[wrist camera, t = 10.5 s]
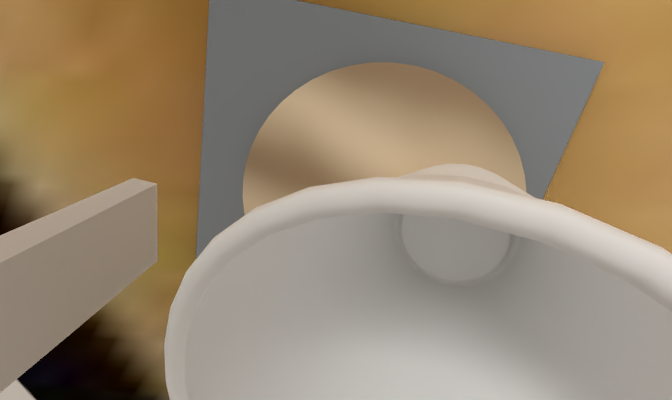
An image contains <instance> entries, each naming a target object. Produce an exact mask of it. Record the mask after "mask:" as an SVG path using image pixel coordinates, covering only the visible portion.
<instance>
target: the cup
mask: <svg viewBox="0 0 672 400" xmlns="http://www.w3.org/2000/svg"><path fill="white" fill-rule="evenodd" d="M164 356H165V377H166V385H167V389H168V394H169V398H170V400H672V254H671V253H670V252H668V251H667V250H665V249H663V248H662V247H660V246H657V245H655V244H653V243H650V242H648V241H646V240H643V239H641V238H639V237H636V236H634V235H632V234H629V233H627V232H625V231H622V230H620V229H618V228H615V227H613V226H611V225H608V224H606V223H604V222H601V221H599V220H597V219H594V218H592V217H590V216H587V215H585V214H583V213H580V212H578V211H576V210H573V209H571V208H569V207H566V206H564V205H562V204H559V203H555V202H550V201H546V200H542V199H538V198H535V197H533V196H531V195H530V194H528V193H526V192H525V191H523V190H521V189H520V188H518V187H517V186H515V185H513V184H512V183H510V182H508V181H507V180H505V179H504V178H502V177H500V176H499V175H497V174H495V173H493V172H490V171H488V170H486V169H483V168H481V167H476V166H472V165H467V164H443V165H436V166H432V167H428V168H425V169H422V170H419V171H416V172H413V173H409V174H406V175H403V176H400V177H373V178H366V179H359V180H352V181H345V182H339V183H332V184H325V185H318V186H312V187H308V188H305V189H302V190H300V191H297V192H295V193H292V194H290V195H287V196H284V197H282V198H279V199H277V200H274V201H271V202H269V203H266V204H264V205H261V206H259V207H256V208H254V209H253V210H252V211H250V212H249V213H247V214H246V215H245V216H243V217H242V218H240V219H239V220H238V221H236V222H235V223H233V224H232V225H231V226H229V227H228V228H226V229H225V230H223V231H222V232H221V233H219V234H218V235H216V236H215V237H214V238H213V239H212V240H211V242H210V243H209V244H208V245H207V246H206V248H205V249H204V250H203V251H202V253H201V254H200V255H199V256H198V258H197V259H196V260H195V261H194V262H193V264H192V265H191V266H190V267H189V269H188V270H187V271H186V273H185V275H184V278H183V280H182V282H181V285H180V287H179V289H178V291H177V294H176V296H175V298H174V300H173V303H172V305H171V307H170V313H169V318H168V324H167V330H166V336H165V342H164Z"/></svg>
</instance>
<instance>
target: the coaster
mask: <svg viewBox="0 0 672 400" xmlns="http://www.w3.org/2000/svg"><path fill="white" fill-rule="evenodd" d="M443 164H467V165H472V166H476V167H481V168H483V169H486V170H488V171H490V172H493V173H495V174H497V175H499V176H500V177H502V178H504V179H505V180H507V181H508V182H510V183H512V184H513V185H515V186H517V187H518V188H520V189H521V190H523V191H525V192H526V182H525V174H524V170H523V166H522V162H521V158H520V155H519V153H518V150H517V148H516V146H515V143H514V141H513V139H512V137H511V135H510V134H509V132H508V130H507V129H506V127H505V126H504V124H503V122H502V121H501V120H500V118H499V117H498V116H497V115H496V114H495V113H494V111H493V110H492V109H491V108H490V107H489V106H488V105H487V104H486V103H485V102H484V101H483V100H482V99H480V98H479V97H478V96H477V95H476V94H475V93H473V92H472V91H471V90H469V89H468V88H466V87H464V86H463V85H461V84H460V83H458V82H457V81H455V80H453V79H451V78H449V77H446V76H444V75H442V74H440V73H437V72H435V71H432V70H429V69H425V68H422V67H418V66H415V65H408V64H401V63H393V62H371V63H364V64H357V65H351V66H347V67H344V68H340V69H337V70H333V71H330V72H328V73H326V74H323V75H321V76H319V77H317V78H315V79H312V80H311V81H309V82H308V83H306V84H304V85H303V86H301V87H300V88H298V89H296V90H295V91H294V92H293V93H292V94H290V95H289V96H288V97H287V98H286V99H284V100H283V101H282V102H281V103H280V104H279V105H278V106H277V107H276V109H275V110H274V111H273V112H272V113H271V114H270V115H269V117H268V118H267V120H266V121H265V123H264V124H263V126H262V127H261V129H260V130H259V132H258V134H257V136H256V138H255V140H254V142H253V144H252V146H251V149H250V152H249V155H248V159H247V162H246V166H245V172H244V178H243V206H244V214H245V215H246V214H247V213H249V212H250V211H252V210H253V209H254V208H256V207H259V206H261V205H264V204H266V203H269V202H271V201H274V200H277V199H279V198H282V197H284V196H287V195H290V194H292V193H295V192H297V191H300V190H302V189H305V188H308V187H312V186H318V185H325V184H332V183H339V182H345V181H352V180H359V179H366V178H373V177H400V176H403V175H406V174H409V173H413V172H416V171H419V170H422V169H425V168H428V167H432V166H436V165H443Z"/></svg>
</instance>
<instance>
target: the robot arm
mask: <svg viewBox="0 0 672 400" xmlns="http://www.w3.org/2000/svg"><path fill="white" fill-rule="evenodd" d="M157 261H158V228H157V184H156V183H152V182H148V181H144V180H140V179H136V178H132V179H129V180H127V181H125V182H123V183H120V184H118V185H116V186H113V187H111V188H109V189H106V190H104V191H102V192H100V193H97V194H95V195H93V196H90V197H88V198H86V199H83V200H81V201H79V202H77V203H74V204H72V205H70V206H67V207H65V208H63V209H60V210H58V211H56V212H54V213H51V214H49V215H47V216H44V217H42V218H40V219H37V220H35V221H33V222H30V223H28V224H26V225H24V226H21V227H19V228H17V229H14V230H12V231H10V232H7V233H5V234H3V235H1V236H0V392H2V391H3V390H4V389H5V388H6V387H7V386H9V385H10V384H11V383H12V382H14V381H15V380H16V379H17V378H18V377H20V376H21V375H22V374H23V373H24V372H26V371H27V370H28V369H29V368H30V367H32V366H33V365H34V364H35V363H36V362H38V361H39V360H40V359H41V358H42V357H43V356H45V355H46V354H47V353H48V352H49V351H51V350H52V349H53V348H54V347H55V346H57V345H58V344H59V343H60V342H61V341H63V340H64V339H65V338H66V337H67V336H69V335H70V334H71V333H72V332H73V331H75V330H76V329H77V328H78V327H79V326H81V325H82V324H83V323H84V322H85V321H87V320H88V319H89V318H90V317H91V316H93V315H94V314H95V313H96V312H97V311H98V310H100V309H101V308H102V307H103V306H104V305H106V304H107V303H108V302H109V301H110V300H112V299H113V298H114V297H115V296H116V295H118V294H119V293H120V292H121V291H122V290H124V289H125V288H126V287H127V286H128V285H130V284H131V283H132V282H133V281H134V280H136V279H137V278H138V277H139V276H140V275H142V274H143V273H144V272H145V271H146V270H148V269H149V268H150V267H151V266H152V265H153V264H155V263H156V262H157Z"/></svg>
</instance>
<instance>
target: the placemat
mask: <svg viewBox="0 0 672 400" xmlns="http://www.w3.org/2000/svg"><path fill="white" fill-rule="evenodd" d="M371 62H393V63H401V64H408V65H415V66H418V67H422V68H425V69H429V70H432V71H435V72H437V73H440V74H442V75H444V76H446V77H449V78H451V79H453V80H455V81H457V82H458V83H460V84H461V85H463V86H464V87H466V88H468V89H469V90H471V91H472V92H473V93H475V94H476V95H477V96H478V97H479V98H480V99H482V100H483V101H484V102H485V103H486V104H487V105H488V106H489V107H490V108H491V109H492V110H493V111H494V113H495V114H496V115H497V116H498V117H499V118H500V120H501V121H502V122H503V124H504V126H505V127H506V129H507V130H508V132H509V134H510V135H511V137H512V139H513V141H514V143H515V146H516V148H517V150H518V153H519V155H520V158H521V162H522V166H523V170H524V174H525V182H526V193H528V194H530V195H531V196H533V197H535V198H538V199H543V197H544V194H545V192H546V190H547V188H548V186H549V183H550V181H551V179H552V177H553V175H554V172H555V170H556V168H557V166H558V163H559V161H560V159H561V157H562V155H563V152H564V150H565V148H566V146H567V144H568V141H569V139H570V137H571V135H572V133H573V130H574V128H575V126H576V124H577V122H578V119H579V117H580V115H581V113H582V111H583V108H584V106H585V104H586V102H587V100H588V97H589V95H590V93H591V91H592V89H593V86H594V84H595V82H596V80H597V78H598V75H599V73H600V71H601V69H602V67H603V64H604V62H601V61H596V60H591V59H586V58H581V57H576V56H571V55H566V54H561V53H556V52H551V51H546V50H541V49H536V48H531V47H526V46H521V45H516V44H511V43H506V42H501V41H496V40H491V39H486V38H481V37H476V36H471V35H466V34H461V33H456V32H451V31H446V30H441V29H436V28H431V27H426V26H421V25H416V24H411V23H406V22H402V21H397V20H392V19H387V18H382V17H377V16H372V15H367V14H362V13H357V12H352V11H347V10H342V9H337V8H332V7H327V6H322V5H317V4H312V3H307V2H302V1H297V0H209V17H208V36H207V55H206V74H205V93H204V112H203V131H202V150H201V169H200V188H199V208H198V227H197V246H196V259H197V258H198V256H199V255H200V254H201V253H202V251H203V250H204V249H205V248H206V246H207V245H208V244H209V243H210V242H211V240H212V239H213V238H214V237H215V236H216V235H218V234H219V233H221V232H222V231H223V230H225V229H226V228H228V227H229V226H231V225H232V224H233V223H235V222H236V221H238V220H239V219H240V218H242V217H243V216H245V214H244V206H243V178H244V172H245V166H246V162H247V159H248V155H249V152H250V149H251V146H252V144H253V142H254V140H255V138H256V136H257V134H258V132H259V130H260V129H261V127H262V126H263V124H264V123H265V121H266V120H267V118H268V117H269V115H270V114H271V113H272V112H273V111H274V110H275V109H276V107H277V106H278V105H279V104H280V103H281V102H282V101H283V100H284V99H286V98H287V97H288V96H289V95H290V94H292V93H293V92H294V91H295V90H296V89H298V88H300V87H301V86H303V85H304V84H306V83H308V82H309V81H311V80H312V79H315V78H317V77H319V76H321V75H323V74H326V73H328V72H330V71H333V70H337V69H340V68H344V67H347V66H351V65H357V64H364V63H371Z"/></svg>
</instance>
